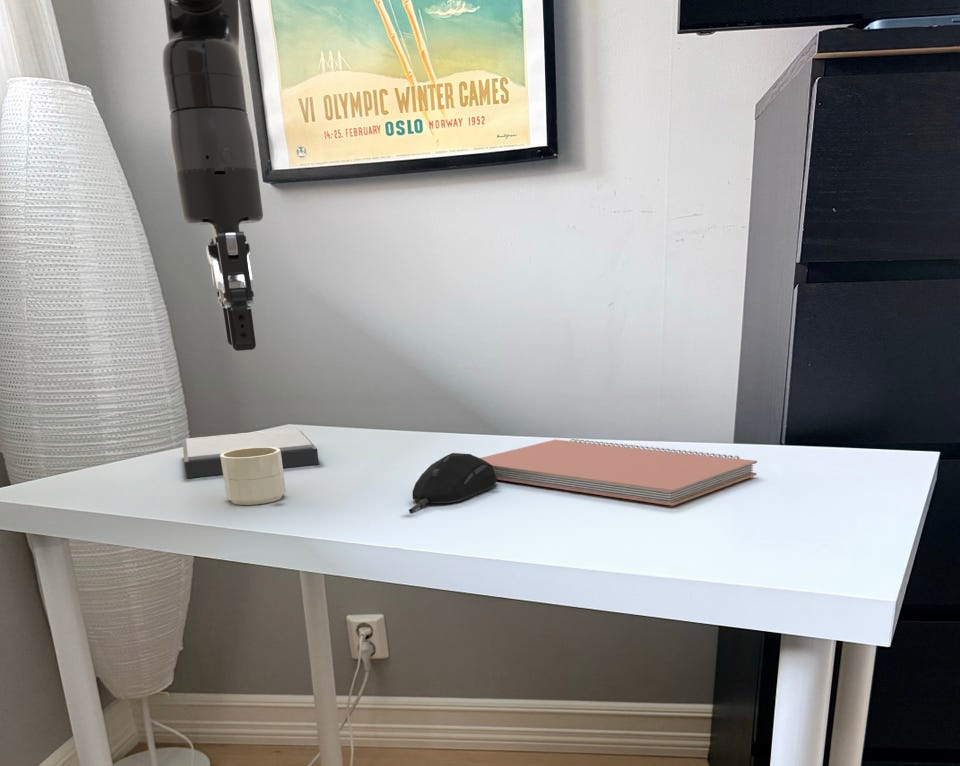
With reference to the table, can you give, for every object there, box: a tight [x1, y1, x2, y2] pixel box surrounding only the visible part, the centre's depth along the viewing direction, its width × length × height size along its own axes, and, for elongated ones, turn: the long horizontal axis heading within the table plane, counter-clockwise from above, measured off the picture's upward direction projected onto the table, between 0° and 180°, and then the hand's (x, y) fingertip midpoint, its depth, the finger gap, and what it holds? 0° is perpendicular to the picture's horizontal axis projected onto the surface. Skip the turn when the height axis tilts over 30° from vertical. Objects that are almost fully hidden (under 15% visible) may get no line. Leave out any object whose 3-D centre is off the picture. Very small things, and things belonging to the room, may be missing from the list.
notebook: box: [480, 438, 758, 506], centre depth 101 cm, size 27×17×2 cm, turn 46°
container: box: [220, 447, 287, 506], centre depth 99 cm, size 6×6×5 cm
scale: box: [182, 427, 320, 479], centre depth 121 cm, size 16×16×2 cm
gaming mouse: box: [408, 452, 498, 514], centre depth 96 cm, size 6×15×4 cm, turn 152°
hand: (241, 347), depth 94 cm, fingers open, 8 cm apart
